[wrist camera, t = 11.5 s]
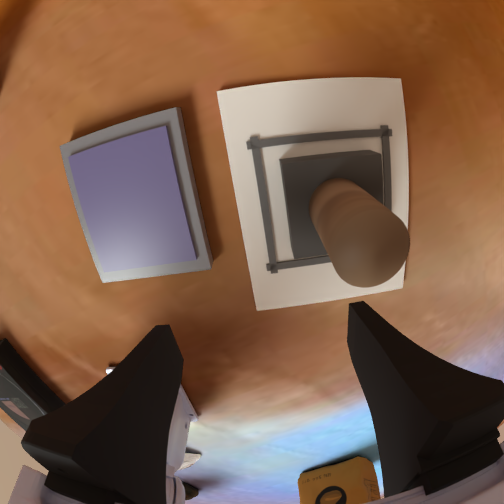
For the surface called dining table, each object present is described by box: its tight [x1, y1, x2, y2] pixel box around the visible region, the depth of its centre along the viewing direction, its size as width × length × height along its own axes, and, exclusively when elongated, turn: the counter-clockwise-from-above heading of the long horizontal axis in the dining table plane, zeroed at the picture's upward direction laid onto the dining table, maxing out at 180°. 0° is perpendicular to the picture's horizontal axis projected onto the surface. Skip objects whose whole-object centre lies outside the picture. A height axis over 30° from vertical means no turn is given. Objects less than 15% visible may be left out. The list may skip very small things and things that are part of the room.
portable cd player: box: [0, 338, 66, 431], centre depth 31 cm, size 16×17×4 cm
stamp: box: [279, 150, 410, 288], centre depth 15 cm, size 6×6×8 cm
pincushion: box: [178, 453, 201, 470], centre depth 34 cm, size 12×6×6 cm, turn 105°
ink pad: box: [60, 107, 213, 283], centre depth 19 cm, size 11×9×2 cm
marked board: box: [217, 77, 409, 311], centre depth 19 cm, size 16×12×1 cm
